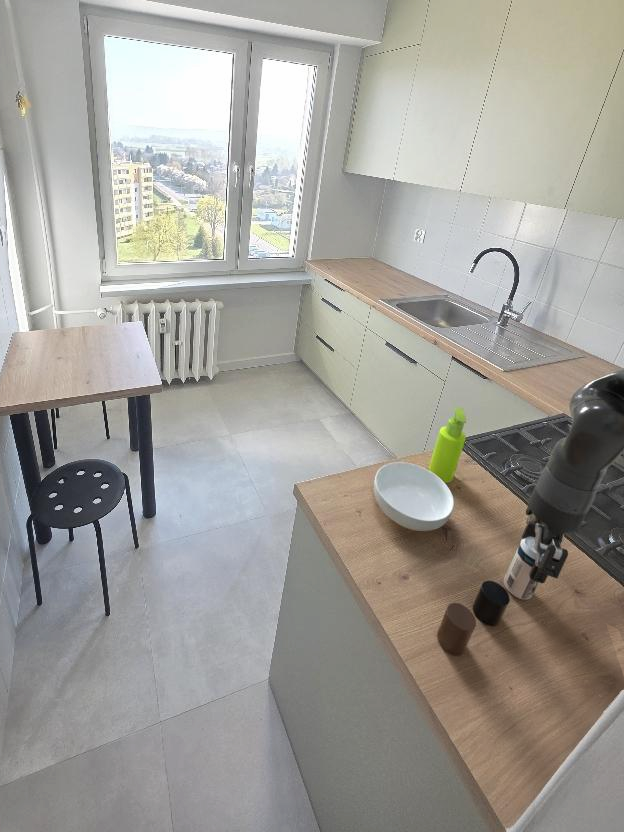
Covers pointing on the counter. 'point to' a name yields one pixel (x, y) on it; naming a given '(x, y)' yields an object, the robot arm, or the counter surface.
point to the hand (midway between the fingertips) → (531, 559)
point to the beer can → (522, 570)
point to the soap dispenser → (448, 447)
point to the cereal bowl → (413, 496)
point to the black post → (491, 603)
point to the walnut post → (456, 629)
